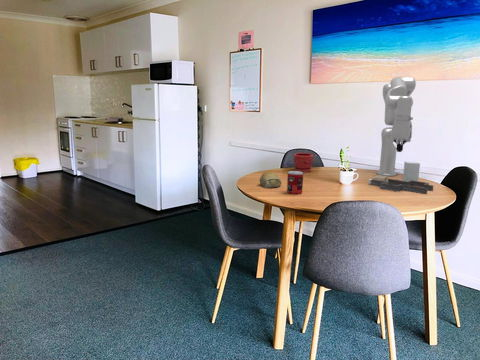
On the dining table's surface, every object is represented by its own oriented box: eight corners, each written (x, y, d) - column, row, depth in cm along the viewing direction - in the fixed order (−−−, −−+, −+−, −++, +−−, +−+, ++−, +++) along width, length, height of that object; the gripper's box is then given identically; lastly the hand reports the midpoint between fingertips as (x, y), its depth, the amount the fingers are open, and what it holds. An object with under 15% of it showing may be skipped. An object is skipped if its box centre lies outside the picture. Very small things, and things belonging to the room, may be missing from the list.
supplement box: (418, 184, 223) (420, 163, 220) (404, 183, 224) (407, 162, 222) (414, 181, 230) (417, 161, 227) (402, 181, 231) (404, 161, 229)
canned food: (286, 190, 200) (287, 170, 198) (301, 191, 200) (302, 171, 198) (287, 194, 193) (288, 173, 190) (303, 194, 192) (304, 173, 190)
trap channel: (380, 180, 232) (380, 175, 231) (436, 189, 210) (436, 184, 209) (364, 185, 216) (364, 180, 215) (422, 195, 194) (423, 190, 194)
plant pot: (291, 169, 266) (292, 152, 264) (309, 169, 268) (310, 152, 265) (295, 172, 253) (296, 155, 251) (314, 172, 255) (315, 155, 252)
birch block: (378, 183, 224) (378, 175, 223) (387, 185, 220) (388, 176, 219) (373, 184, 220) (374, 176, 219) (383, 186, 216) (383, 177, 215)
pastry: (265, 182, 221) (265, 169, 220) (284, 184, 216) (285, 171, 214) (254, 186, 209) (255, 172, 208) (275, 189, 203) (275, 175, 202)
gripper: (419, 119, 205) (415, 152, 209) (391, 118, 215) (388, 149, 219) (414, 119, 200) (410, 153, 204) (386, 118, 209) (383, 150, 214)
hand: (399, 151), depth 211 cm, fingers closed
